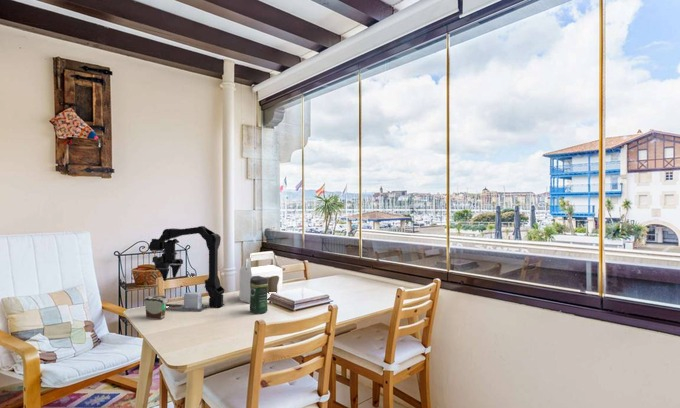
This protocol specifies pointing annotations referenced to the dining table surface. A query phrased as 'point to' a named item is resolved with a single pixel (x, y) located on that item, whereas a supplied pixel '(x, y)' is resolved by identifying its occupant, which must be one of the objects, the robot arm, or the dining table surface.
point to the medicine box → (193, 300)
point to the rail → (181, 308)
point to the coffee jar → (258, 294)
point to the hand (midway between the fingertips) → (169, 279)
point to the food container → (155, 306)
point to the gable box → (260, 274)
